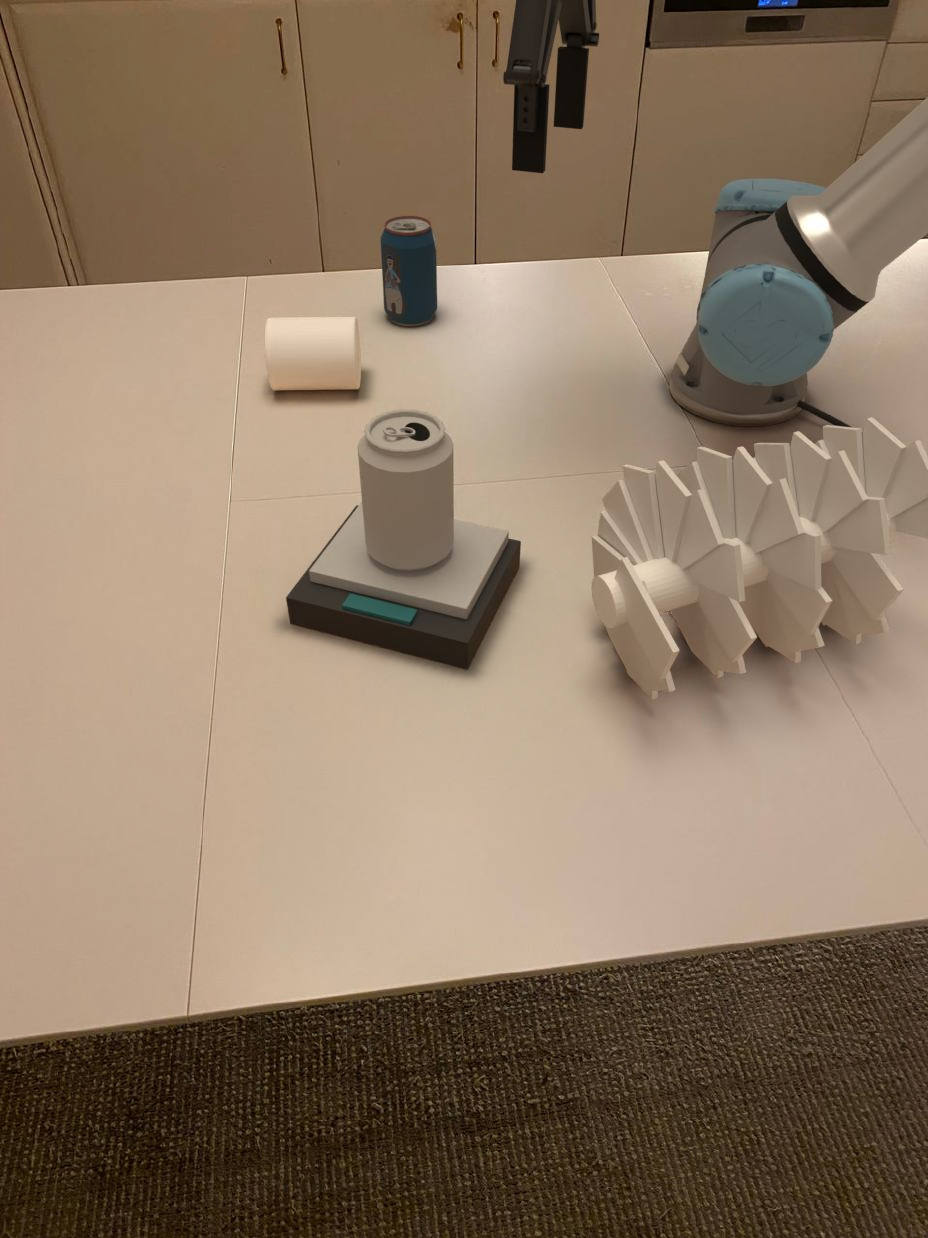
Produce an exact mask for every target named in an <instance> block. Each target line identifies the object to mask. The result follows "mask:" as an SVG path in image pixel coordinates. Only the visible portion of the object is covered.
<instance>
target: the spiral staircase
mask: <svg viewBox="0 0 928 1238" xmlns="http://www.w3.org/2000/svg"><path fill="white" fill-rule="evenodd" d="M852 427H853V426H851V427H842V426H835V425H833V424H831V425H829V424H825V425H823V426H822V437H823V439H818V440H817V441H816V442H815V443H814V442H813V441H811V440H810V439H809V438H808V437H807V436H806V435H805V434H803V433H802V432H801V431H799V430H798V431H793V433H792V436H791V437H792V438H791V442H790V443H789V442H757V443H753V450H754V457H752V456H751V454H750V453H749V452H748V451H747V449H746V448H745V447H744V446H743V445H742V446H738V447H736V450H735V453H734V456H731V455H728V454H725V453H724V452H720V451H716V450H714V449H711V448H708V447H705V446H704V445H703V446H698V447H696V454H697V455H696V456H697V458H696V459H697V460H696V461H693V462H690V463H689V464H688V465H687V466H684V468H682V469H681V470H679V471H678V472H676V473H675V472H674V471H673V469H672V468H671V467H670V466H669V465H668V463H667V462H666V461H665V460H664V459H662V460H659V461H657V464H656V469H655V471H653V470H650V469H646V468H642V467H639V466H635V465H631V464H624V465H622V470H623V471H622V472H623V479H620V480H617V482H616V483H615V484H614V485H613V486H612V487H610V489H609V491H608V492H607V493H606V494H605V495H604V496H603V497H602V498H601V500H602V503H603V506H604V508H605V510H603V511H600V515H599V520H598V521H599V522H598V529H597V530H598V531H597V534H595V535H591V551H592V565H593V566H592V567H593V568H592V569H593V578H592V580H591V589H590V590H591V597H592V602H593V605H594V606H593V607H594V609H595V611H596V613H597V616H598V619H600V621H601V622H602V624H603V625H604V626H605V630H606V633H607V635H608V637H609V639H610V641H611V643H612V644H613V646H614V649H615V650H616V652H617V654H618V656H619V658H620V660H621V662H622V664H623V666H624V667H625V669H626V674H627V675H628V676H629V677H630V678H631V679H632V680H633V681H634V683H636V684H637V685H638V686H639V687H640V688H641V690H642V691H643V692H644V693H646V695H648V697H649V698H650V699H651V700H654V699H657V698H659V692H665V693H670V692H671V693H672V692H674V691H676V686H675V684H674V679H673V676H672V672H671V668H672V666H673V664H674V662H675V660H676V658H677V657H678V655H679V653H680V648H679V647H678V644H677V643H676V641H675V640H674V638H673V636H672V634H671V632H670V630H669V628H668V627H667V625H666V624H665V622H664V619H663V618H662V616H661V614H662V613H666V612H669V611H670V613H671V614H672V617H673V618H674V620H675V622H676V624H677V626H678V628H679V630H680V632H681V634H682V636H683V638H684V640H685V641H686V643H687V645H688V648H689V650H690V652H691V653H692V654H693V655H695V657H697V658H698V660H699V661H700V662H701V663H702V664H704V666H705V667H706V668H708V670H709V671H710V672H711V673H712V674H713V675H714V676H715V677H716V678H717V679H721V678H723V677H724V676H725V673H731V674H735V675H736V674H737V675H744V674H746V673H747V669H746V668H747V667H746V665H745V661H744V656H743V655H744V654H745V653H746V652H747V650H748V649H749V648H750V646H752V644H753V643H754V641H756V640H757V638H759V639H760V641H761V643H762V644H763V645H764V647H765V648H768V647H769V648H771V649H773V650H774V651H776V652H777V653H779V654H781V655H782V656H784V657H785V658H786V659H789V660H790V661H791V662H793V663H794V664H798V663H801V662H802V651H807V650H813V649H818V648H821V647H825V642H824V639H823V637H822V634H821V631H820V625H822V626H823V627H824V626H827V627H829V628H830V629H832V630H834V631H835V632H836V633H838V634H839V635H841V636H842V637H844V638H845V639H847V640H849V642H851V643H853V644H854V645H858V644H861V643H862V639H863V638H862V636H863V635H869V634H870V635H871V634H883V633H884V634H885V633H888V632H890V631H891V630H890V625H889V623H888V620H887V616H886V613H887V612H888V610H889V609H890V608H891V607H892V606H893V604H894V603H895V601H896V600H897V599H898V598H899V597H900V596H901V594H902V593H903V591H905V589H904V587H902V585H901V584H900V582H899V581H898V580H897V578H896V577H895V576H894V574H893V573H892V572H891V570H890V569H889V567H888V566H887V565H886V564H885V562H884V561H883V559H882V558H881V556H880V555H883V556H888V555H890V554H892V549H891V543H892V542H894V541H895V540H897V538H898V537H899V534H900V533H901V534H902V533H903V534H906V535H910V536H914V537H918V538H924V539H927V540H928V453H927V452H926V449H925V448H924V446H923V443H922V441H921V439H919V440H914V441H913V442H911V443H910V444H908V445H907V446H906V445H905V444H904V443H903V442H902V441H900V440H899V439H898V438H897V437H896V436H895V435H894V434H893V433H891V432H890V431H889V430H888V429H887V428H886V427H884V426H883V425H882V424H881V423H880V422H878V421H877V420H876V419H875V418H874V417H873V416H872V417H867V418H866V420H865V423H864V426H863V429H862V428H861V427H853V428H852Z"/></svg>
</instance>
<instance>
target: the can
mask: <svg viewBox="0 0 928 1238" xmlns="http://www.w3.org/2000/svg"><path fill="white" fill-rule="evenodd" d="M363 432H364V435H363V436H362V437H361V438H360V439H359V441H358V444H357V457H358V471H359V482H360V483H359V484H360V493H361V495H360V496H361V502H362V507H363V519H364V531H365V543H366V547H367V552H368V553H369V554H370V555H371V556H372V558H373V559H375V560H376V561H378V562H380V563H381V564H383V565H385V566H387V567H389V568H391V569H395V570H399V571H410V572H411V571H419V570H423V569H426V568H429V567H432V566H433V565H434V564H436V563H438V562H439V561H441V560H442V559H444V558H445V557H447V555H448V554H449V553H450V551H451V550H452V548H453V542H454V519H455V508H454V507H455V503H454V502H455V501H454V500H455V498H454V497H455V496H454V495H455V494H454V492H455V491H454V488H455V487H454V485H455V484H454V480H455V479H454V475H455V474H454V472H455V471H454V442H453V439H452V437H451V436H450V434H448V433H447V432H446V427H445V424H444V422H443V421H442V420H441V419H440V418H439V417H438V416H436V415H434V414H432V413H430V412H428V411H424V410H419V409H415V408H414V409H412V408H401V409H400V408H399V409H391V410H389V411H385V412H381V413H380V414H378V415H376V416H374V417H372V418H371V419H370V420H369V421H368V422H367V423H366V425H365V428H364V429H363Z"/></svg>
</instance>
